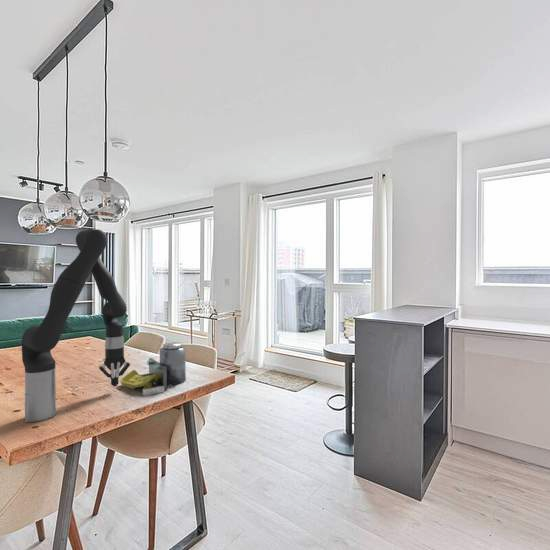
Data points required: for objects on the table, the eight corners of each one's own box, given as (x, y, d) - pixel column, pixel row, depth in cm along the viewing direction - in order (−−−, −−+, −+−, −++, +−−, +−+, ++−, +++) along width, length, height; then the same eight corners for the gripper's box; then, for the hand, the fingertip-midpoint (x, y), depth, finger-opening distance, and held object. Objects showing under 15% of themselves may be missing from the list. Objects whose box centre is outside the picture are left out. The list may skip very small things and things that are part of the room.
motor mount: (143, 396, 145) (142, 353, 145) (129, 381, 166) (129, 344, 166) (194, 385, 158) (194, 346, 158) (176, 373, 179) (175, 338, 179)
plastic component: (118, 381, 159) (135, 367, 166) (125, 393, 161) (142, 379, 168) (139, 386, 146) (157, 371, 153) (147, 399, 148) (164, 384, 155)
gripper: (99, 349, 143) (99, 391, 143) (132, 346, 151) (132, 385, 151) (96, 347, 149) (96, 386, 149) (128, 343, 157) (128, 381, 157)
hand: (114, 385), depth 150 cm, fingers closed
